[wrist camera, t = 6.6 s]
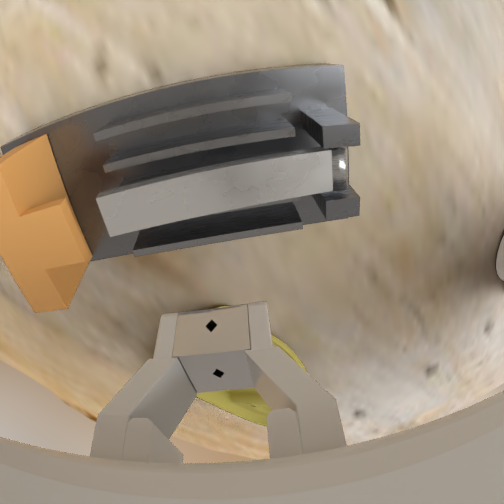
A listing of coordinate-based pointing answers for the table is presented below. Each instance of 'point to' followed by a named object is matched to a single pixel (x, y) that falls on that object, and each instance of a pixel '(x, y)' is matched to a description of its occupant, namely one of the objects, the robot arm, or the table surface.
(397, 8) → the table surface
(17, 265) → the clip
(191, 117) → the heatsink
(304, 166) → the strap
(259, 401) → the plastic component
